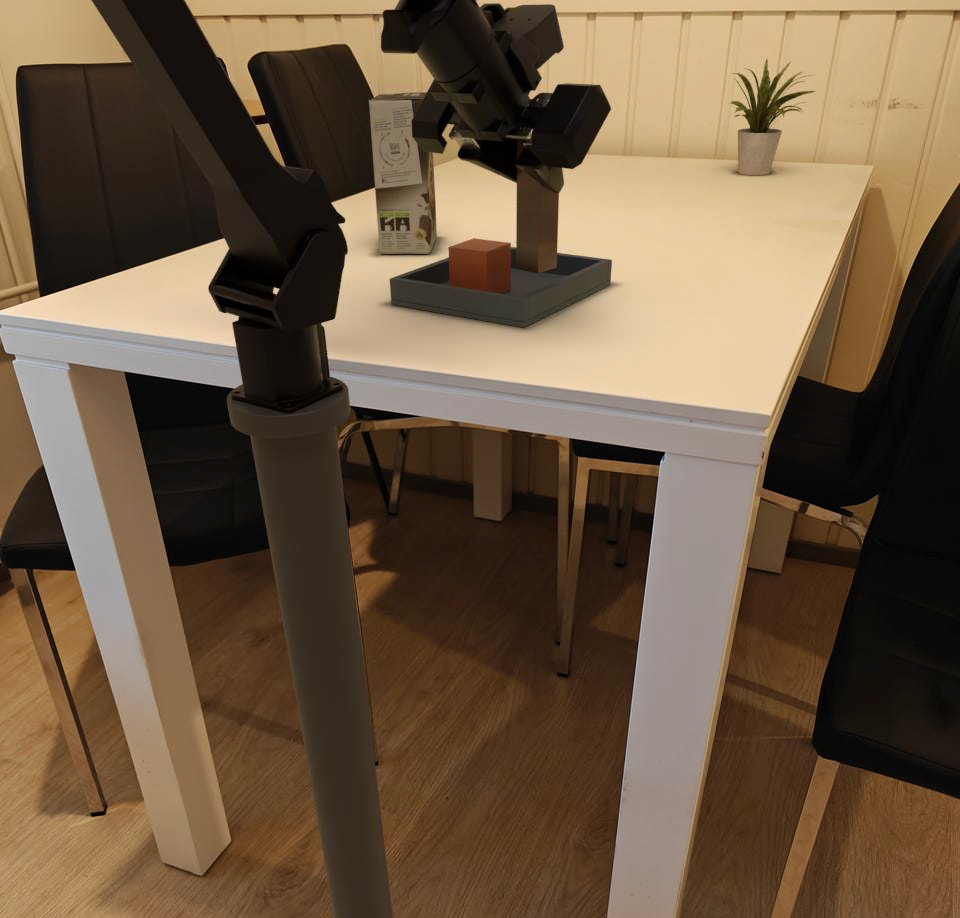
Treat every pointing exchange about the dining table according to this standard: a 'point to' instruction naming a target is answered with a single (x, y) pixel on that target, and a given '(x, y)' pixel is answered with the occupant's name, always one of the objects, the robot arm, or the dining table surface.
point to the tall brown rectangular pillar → (535, 223)
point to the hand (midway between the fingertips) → (547, 186)
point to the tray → (514, 307)
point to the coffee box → (401, 177)
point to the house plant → (762, 122)
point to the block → (481, 265)
